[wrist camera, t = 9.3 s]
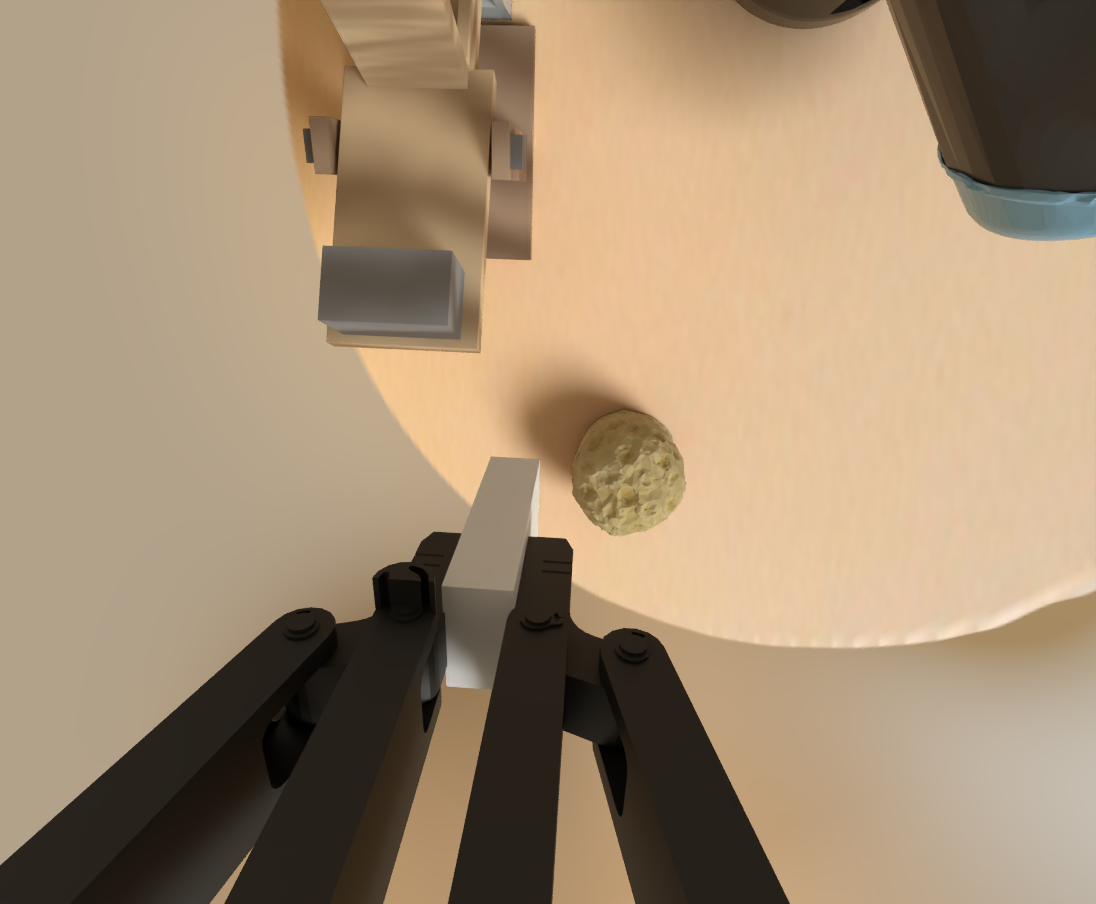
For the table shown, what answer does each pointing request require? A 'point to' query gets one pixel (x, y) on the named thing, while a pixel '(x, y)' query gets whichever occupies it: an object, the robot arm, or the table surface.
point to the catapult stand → (510, 139)
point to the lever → (410, 178)
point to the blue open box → (496, 9)
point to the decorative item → (627, 473)
